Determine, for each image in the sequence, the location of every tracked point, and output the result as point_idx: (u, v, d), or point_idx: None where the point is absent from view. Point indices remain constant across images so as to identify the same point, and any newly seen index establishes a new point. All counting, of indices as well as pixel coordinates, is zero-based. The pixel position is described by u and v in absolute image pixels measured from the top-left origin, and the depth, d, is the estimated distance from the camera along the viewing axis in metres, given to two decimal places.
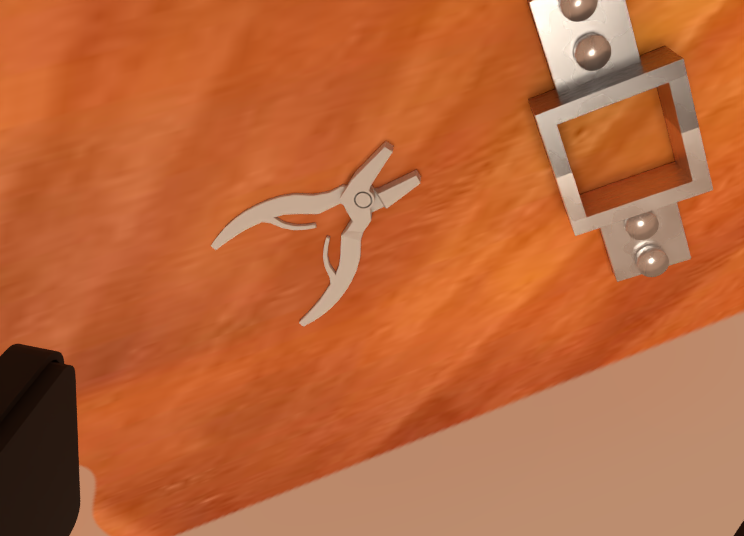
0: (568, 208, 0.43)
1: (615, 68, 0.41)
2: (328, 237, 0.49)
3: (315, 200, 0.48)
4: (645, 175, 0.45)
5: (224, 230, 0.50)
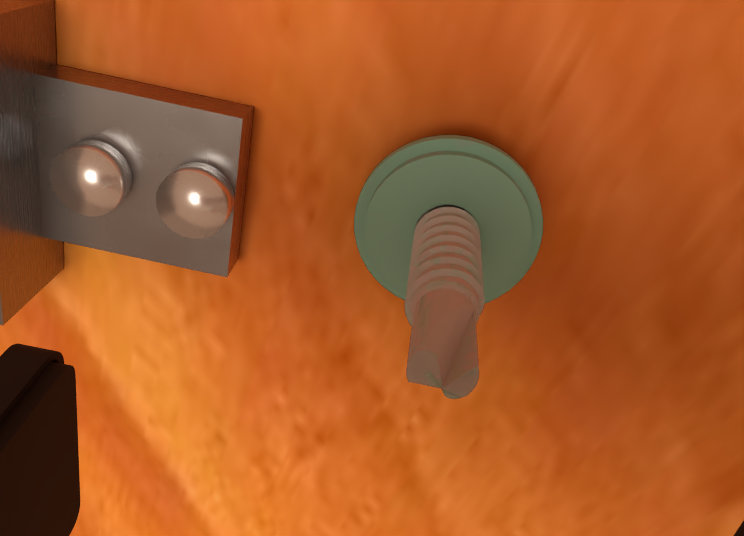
0: None
1: (46, 195, 0.20)
2: None
3: None
4: None
5: None
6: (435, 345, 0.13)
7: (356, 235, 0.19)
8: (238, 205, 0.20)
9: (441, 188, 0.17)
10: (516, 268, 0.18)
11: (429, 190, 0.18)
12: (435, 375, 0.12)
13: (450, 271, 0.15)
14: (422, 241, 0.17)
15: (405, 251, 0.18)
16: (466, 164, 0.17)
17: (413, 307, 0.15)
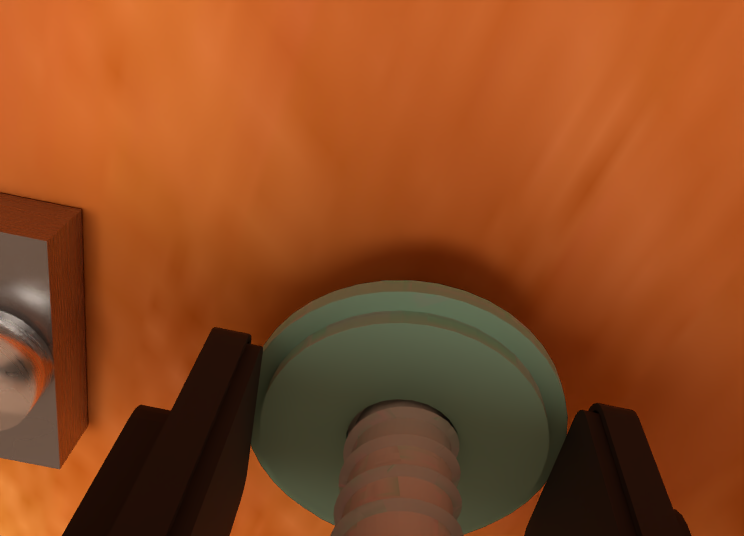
0: None
1: None
2: None
3: None
4: None
5: None
6: None
7: None
8: (68, 363, 0.13)
9: (388, 373, 0.10)
10: (522, 492, 0.11)
11: (368, 378, 0.10)
12: None
13: None
14: (352, 492, 0.09)
15: (332, 465, 0.11)
16: (432, 338, 0.09)
17: None
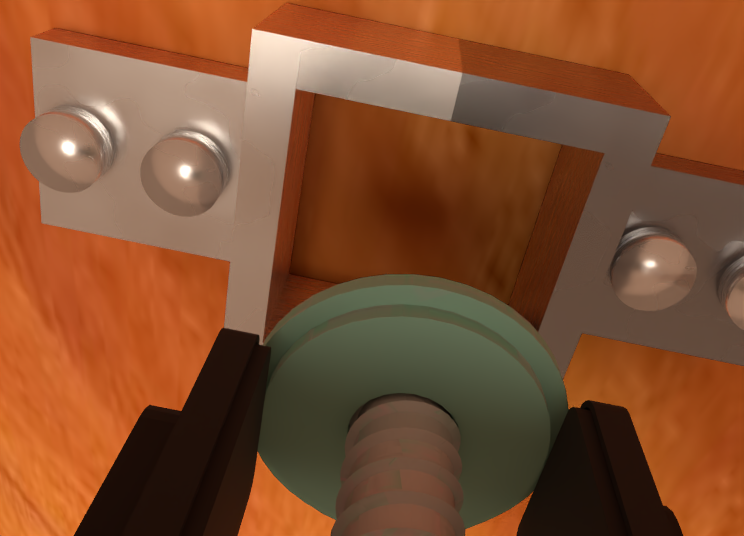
0: (351, 56, 0.14)
1: None
2: None
3: None
4: (294, 220, 0.19)
5: None
6: None
7: None
8: None
9: (390, 368, 0.10)
10: (522, 486, 0.11)
11: (369, 371, 0.10)
12: None
13: None
14: (354, 485, 0.09)
15: (334, 460, 0.11)
16: (434, 332, 0.09)
17: None
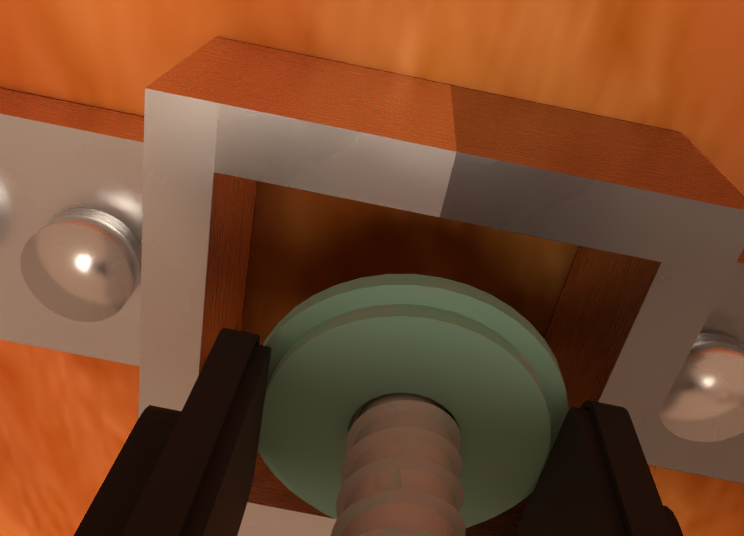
0: (292, 127, 0.09)
1: None
2: None
3: None
4: (237, 315, 0.14)
5: None
6: None
7: None
8: None
9: (390, 367, 0.10)
10: (523, 486, 0.11)
11: (370, 371, 0.10)
12: None
13: None
14: (355, 485, 0.09)
15: (334, 459, 0.11)
16: (434, 332, 0.10)
17: None
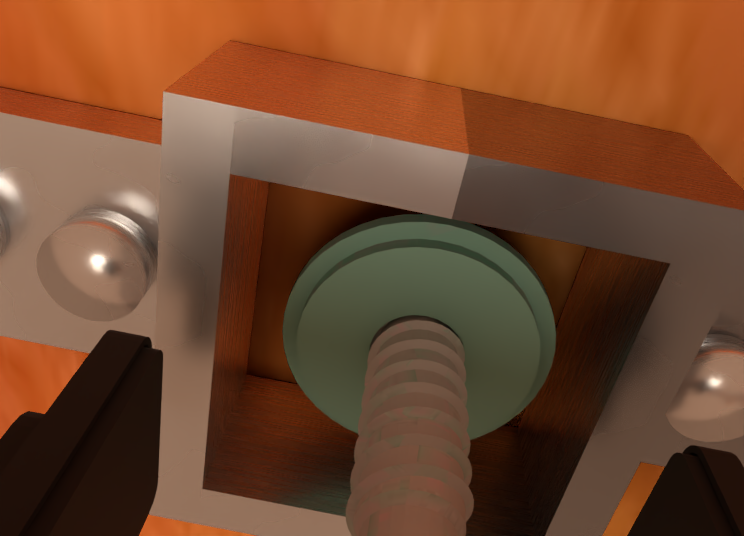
0: (307, 130, 0.09)
1: None
2: None
3: None
4: (249, 315, 0.15)
5: None
6: None
7: (287, 352, 0.13)
8: None
9: (406, 292, 0.12)
10: (517, 399, 0.13)
11: (389, 296, 0.12)
12: None
13: (418, 469, 0.09)
14: (377, 383, 0.11)
15: (357, 376, 0.13)
16: (443, 261, 0.11)
17: (358, 527, 0.09)
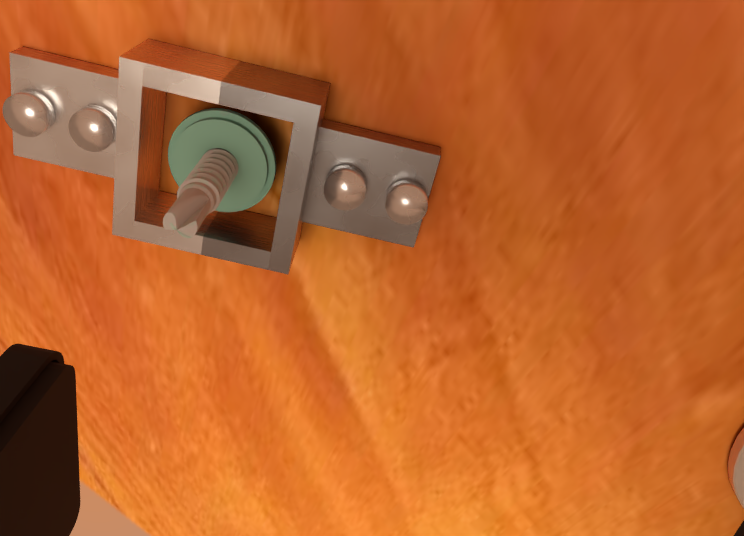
0: (167, 71, 0.29)
1: (310, 196, 0.34)
2: None
3: None
4: (158, 157, 0.34)
5: None
6: (175, 210, 0.26)
7: (170, 165, 0.32)
8: None
9: (213, 138, 0.31)
10: (261, 186, 0.32)
11: (206, 139, 0.31)
12: (174, 224, 0.26)
13: (198, 180, 0.28)
14: None
15: None
16: (225, 125, 0.31)
17: None
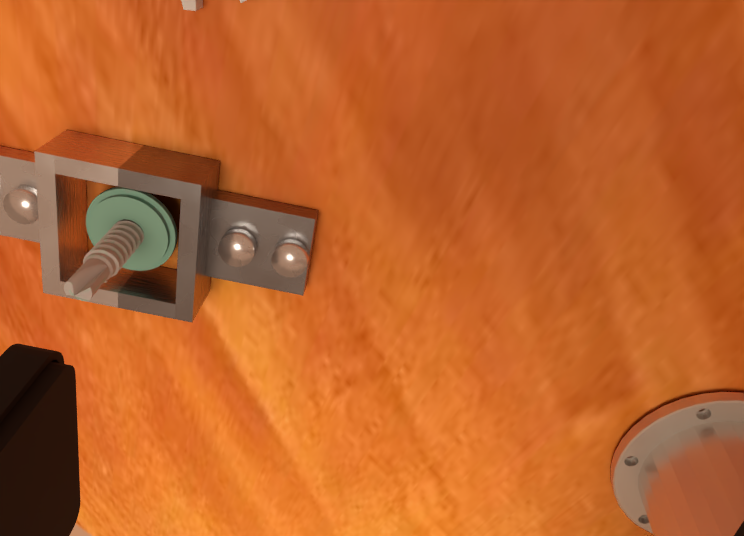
0: (74, 161, 0.35)
1: (210, 255, 0.39)
2: None
3: None
4: (82, 225, 0.40)
5: None
6: (73, 279, 0.32)
7: (88, 234, 0.38)
8: (309, 259, 0.40)
9: (120, 211, 0.37)
10: (164, 249, 0.38)
11: (115, 212, 0.37)
12: (72, 291, 0.32)
13: (99, 251, 0.34)
14: None
15: None
16: (129, 201, 0.37)
17: None
